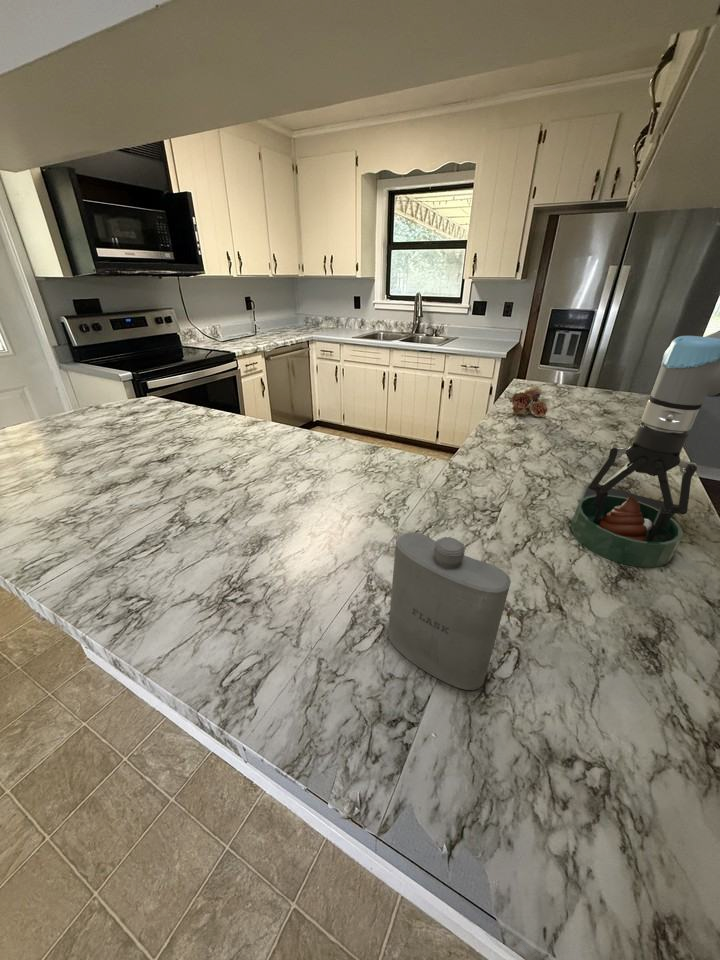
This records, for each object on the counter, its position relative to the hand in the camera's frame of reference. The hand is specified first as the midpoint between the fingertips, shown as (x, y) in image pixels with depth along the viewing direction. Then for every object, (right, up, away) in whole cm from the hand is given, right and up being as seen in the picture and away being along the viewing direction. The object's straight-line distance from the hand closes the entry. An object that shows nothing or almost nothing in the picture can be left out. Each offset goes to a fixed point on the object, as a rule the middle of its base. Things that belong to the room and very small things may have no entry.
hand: (622, 528), depth 82 cm
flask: (-44, -15, -26) cm, 54 cm away
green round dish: (0, -2, +1) cm, 3 cm away
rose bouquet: (+12, +36, +75) cm, 84 cm away
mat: (+10, +4, +14) cm, 18 cm away
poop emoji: (0, -2, +1) cm, 2 cm away
